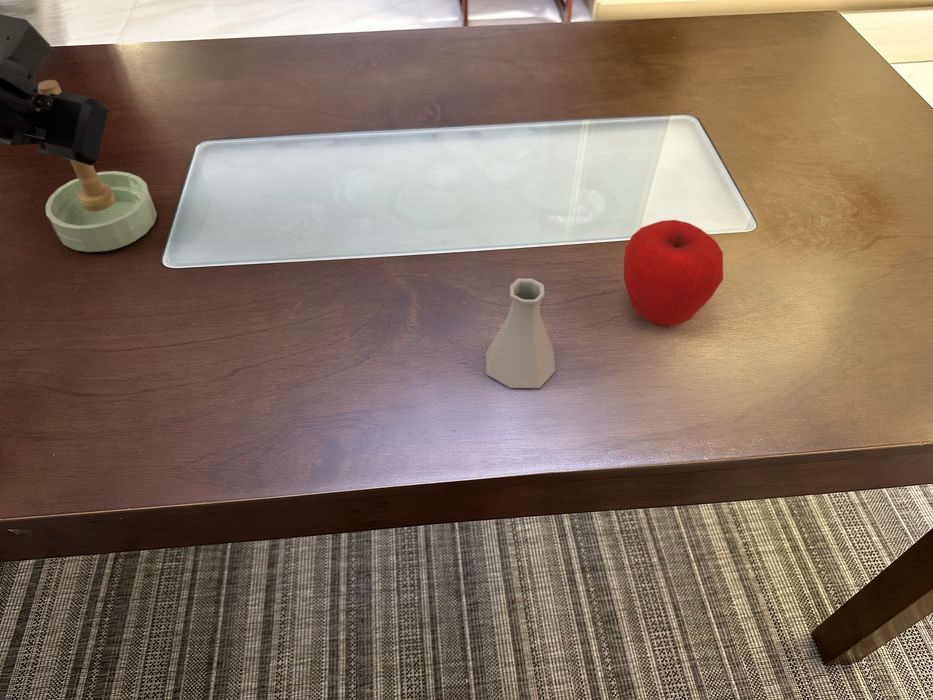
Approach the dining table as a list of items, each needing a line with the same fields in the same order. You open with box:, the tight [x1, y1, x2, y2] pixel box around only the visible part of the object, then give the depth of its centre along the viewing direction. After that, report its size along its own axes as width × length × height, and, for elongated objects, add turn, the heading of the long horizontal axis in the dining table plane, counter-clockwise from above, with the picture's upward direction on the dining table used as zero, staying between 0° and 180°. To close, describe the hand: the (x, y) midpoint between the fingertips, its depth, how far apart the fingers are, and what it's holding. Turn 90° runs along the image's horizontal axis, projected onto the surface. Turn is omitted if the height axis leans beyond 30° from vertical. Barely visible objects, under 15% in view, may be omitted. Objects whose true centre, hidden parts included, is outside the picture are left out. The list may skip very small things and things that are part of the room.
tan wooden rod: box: [37, 79, 115, 211], centre depth 79 cm, size 4×4×14 cm
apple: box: [623, 219, 724, 326], centre depth 73 cm, size 10×10×11 cm
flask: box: [485, 278, 556, 389], centre depth 69 cm, size 7×7×10 cm
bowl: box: [45, 170, 158, 253], centre depth 85 cm, size 11×11×4 cm
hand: (82, 138), depth 80 cm, fingers closed on tan wooden rod, 2 cm apart
